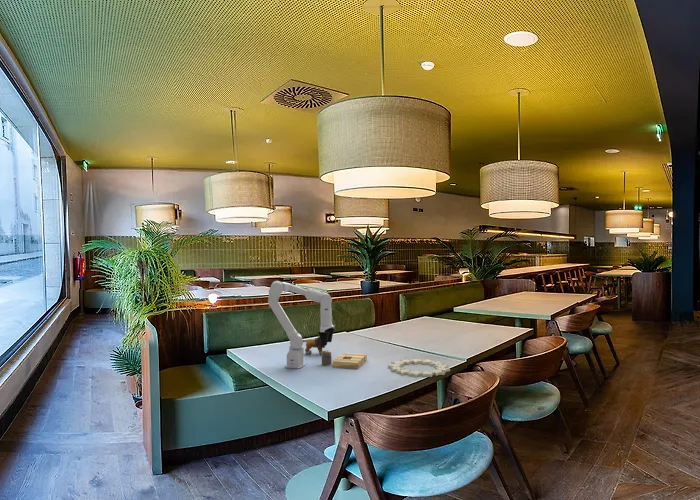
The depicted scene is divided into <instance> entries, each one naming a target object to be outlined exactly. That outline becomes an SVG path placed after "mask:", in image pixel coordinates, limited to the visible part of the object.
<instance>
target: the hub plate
mask: <svg viewBox="0 0 700 500" xmlns="http://www.w3.org/2000/svg"><path fill="white" fill-rule="evenodd" d="M367 355H368V354H367V353H355V352H354V353H352V352H342V353H341V354H340V355H338V356H337V357H336V358H334V359H332V367H333V368H339V369H340V368H341V369H357V370H358V369H359V368H360V367H361V366H362V365H363V364H364V363H365V362H366V361H367Z"/></svg>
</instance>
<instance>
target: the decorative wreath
mask: <svg viewBox="0 0 700 500" xmlns="http://www.w3.org/2000/svg"><path fill="white" fill-rule="evenodd" d="M411 364H414V365H417V364H419V365H421V364H422V365H423V366H424V365H428V366H430V367H433V369H432V370H425V371H419V370H411V369H406V368H405V367H404V365H405V366H406V365H407V366H408V365H411ZM387 369H390V372H391V373H396V374H399V375H401V376H404V375H405V376H408V377H414V378H418V377H422V378H425V377H428V378H433V376H445V374H446V373H449V372H451V368H449V364H444V363H442V362H441V361H440V360H439V361H435V360H431V359H428V358H427V359H422V358H419V359H418V358H413V359H400V361H399V360H397V361H391V363H390V364H389V365H387Z"/></svg>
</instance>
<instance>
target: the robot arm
mask: <svg viewBox="0 0 700 500" xmlns="http://www.w3.org/2000/svg"><path fill="white" fill-rule="evenodd" d="M283 292H284V293H289V292H291V293H295V294H297V295H298V294H299V295H302V296H305V299H306V300H308V301H312V302H315V303H320V311H319V312H320V313H319V314H320V327H319V330H318V331H317V334H318V335H319V337H320V338H321V342H322V345H323V346H325V347H326V346H327V345H328V343H332V339H333V335H334V332H335V330H336V327H335V325H333V314H332V313H333V312H332V311H333V310H332V302H333V299H332V296H331V295H330V294H329V293H327V292H324V291H323V290H322V291H320V290H316V288H314V287H312V288H311V287H310V288H307V289H306V288H303V287H300V286H298V285H295V284H292V283H289V282H285V281H280V280H274V281H273V282H272V283H271V285H270V287H269V289H268V298H267V302H268V305H269V307H270V309H271V310H272V312H273V313H274V315H275V316H276V317H275V318H277V320H278V322H279V324H280V325H281V326H282V329H283V330H284V332H285V333H286V336H287V338H288V339H289V347H288V349H289V351H288V352H287V353H286V365H284V368H288V369H289V368H290V369H301V368H303V367H304V366H306V365H307V362H304V361H305V359H304V356H305V355H304V352H305V347H304V346H303V344H304V342H303V340H304V339H303V336H302V335H301V334H300V333H299V332H298V331H297V330H296V328H295V327H294V325H293V324H292V322H291V321H290V318H289V317H288V316H287V314H286V312H285V311H284V308H283V307H282V306H281V304H280V302H279V299H280V296H281V295H282V294H283Z"/></svg>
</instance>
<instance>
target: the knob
mask: <svg viewBox="0 0 700 500" xmlns="http://www.w3.org/2000/svg"><path fill="white" fill-rule="evenodd" d="M321 365H322V366H331V365H333V359H332V351H331V350H328V349H327V350H322V355H321Z"/></svg>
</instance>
